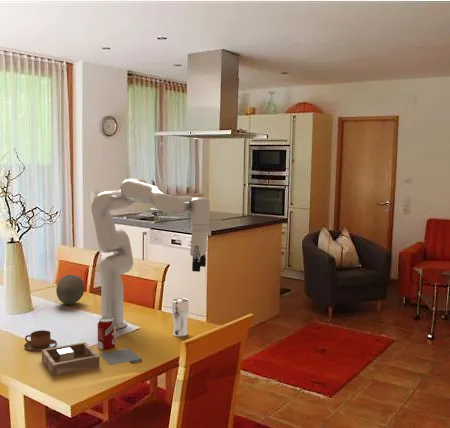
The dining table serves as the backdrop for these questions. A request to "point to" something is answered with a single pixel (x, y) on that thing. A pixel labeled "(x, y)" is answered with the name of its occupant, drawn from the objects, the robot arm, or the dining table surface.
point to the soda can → (106, 333)
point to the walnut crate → (82, 360)
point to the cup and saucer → (39, 340)
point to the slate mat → (121, 356)
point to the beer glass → (180, 316)
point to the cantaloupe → (70, 289)
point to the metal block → (64, 354)
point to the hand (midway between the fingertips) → (199, 268)
